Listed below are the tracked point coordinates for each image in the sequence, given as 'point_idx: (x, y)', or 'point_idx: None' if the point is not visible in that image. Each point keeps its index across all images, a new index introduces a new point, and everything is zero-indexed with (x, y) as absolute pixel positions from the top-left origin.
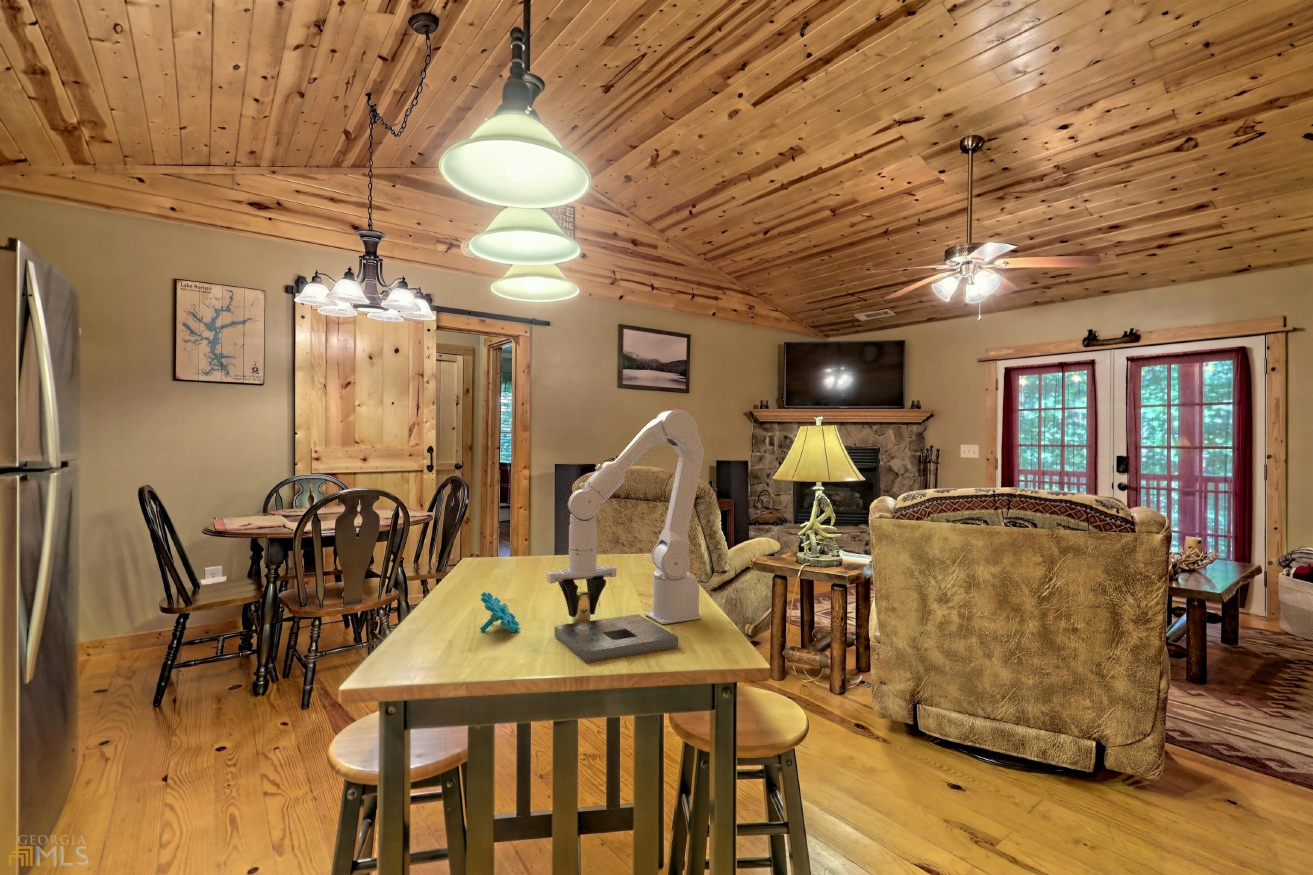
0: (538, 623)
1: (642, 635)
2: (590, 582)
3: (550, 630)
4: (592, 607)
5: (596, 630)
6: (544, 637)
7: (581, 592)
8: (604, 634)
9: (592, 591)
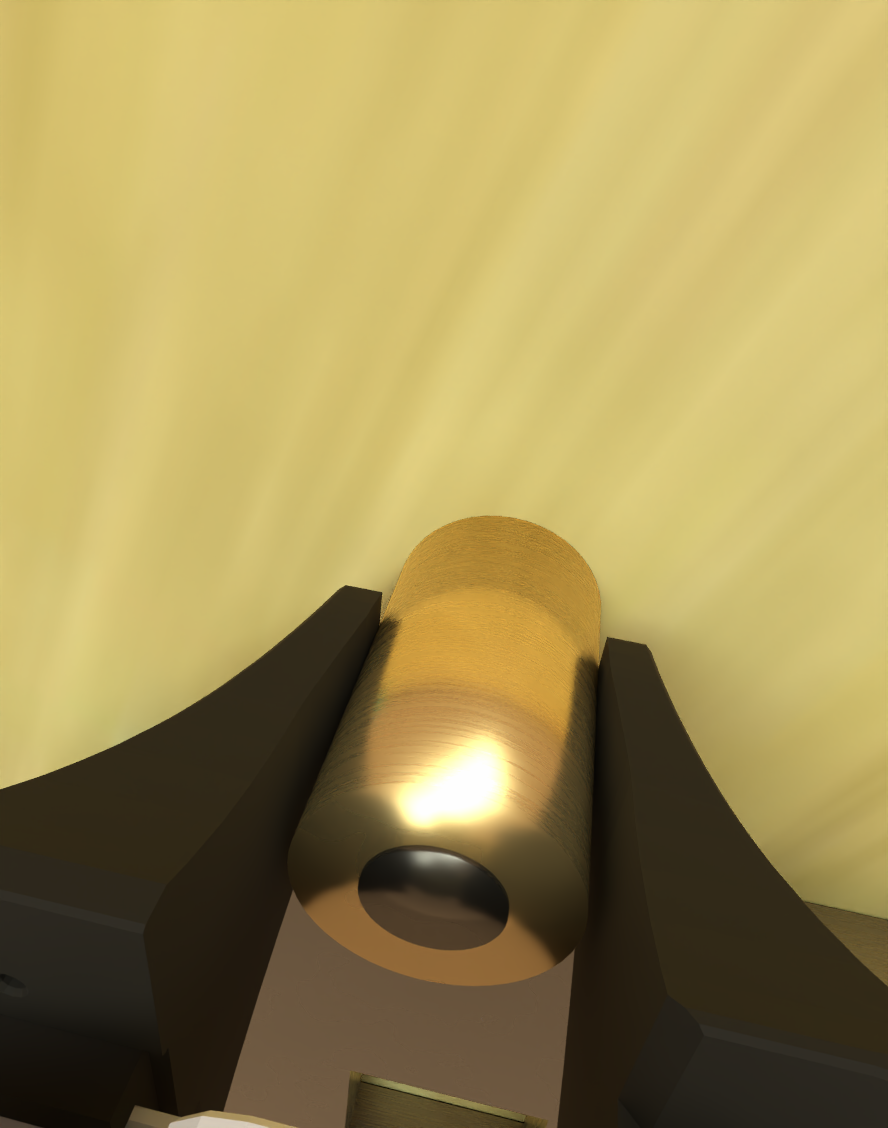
0: (41, 360)
1: None
2: (599, 1102)
3: (115, 622)
4: None
5: (335, 1036)
6: (32, 723)
7: (435, 884)
8: (345, 1096)
9: (581, 1002)
